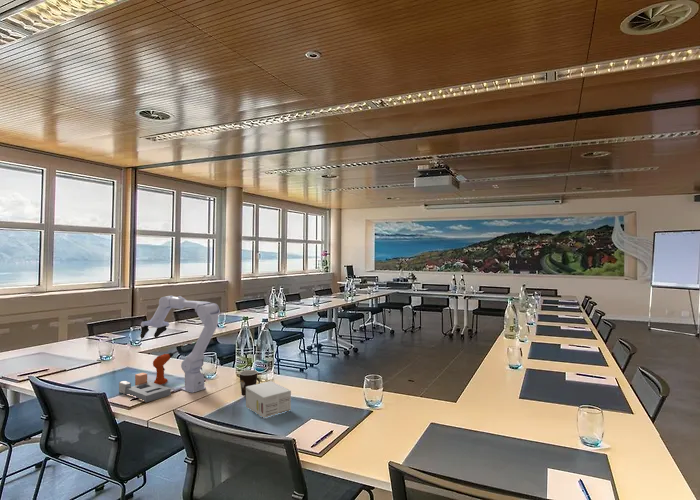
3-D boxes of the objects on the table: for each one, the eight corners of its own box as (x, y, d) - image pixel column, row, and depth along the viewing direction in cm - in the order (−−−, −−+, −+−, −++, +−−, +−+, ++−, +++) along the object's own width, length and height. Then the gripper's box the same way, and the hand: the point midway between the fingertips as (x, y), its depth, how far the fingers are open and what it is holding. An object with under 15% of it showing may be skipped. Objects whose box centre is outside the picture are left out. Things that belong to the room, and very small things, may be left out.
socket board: (170, 394, 196) (170, 388, 196) (146, 402, 186) (146, 395, 186) (150, 387, 206) (150, 381, 206) (125, 394, 196) (125, 388, 196)
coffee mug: (237, 392, 200) (237, 371, 200) (255, 389, 204) (255, 369, 204) (242, 399, 190) (242, 378, 190) (261, 396, 194) (261, 375, 194)
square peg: (147, 387, 206) (147, 373, 206) (139, 390, 203) (139, 375, 203) (143, 386, 208) (143, 372, 208) (135, 388, 205) (135, 374, 205)
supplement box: (245, 407, 180) (245, 386, 180) (271, 400, 189) (271, 380, 189) (263, 419, 167) (263, 396, 167) (291, 411, 176) (291, 389, 176)
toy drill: (183, 372, 227) (180, 346, 225) (159, 387, 209) (157, 359, 207) (175, 371, 228) (173, 345, 226) (151, 386, 210) (149, 358, 208)
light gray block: (130, 393, 198) (130, 382, 198) (125, 394, 196) (125, 384, 196) (124, 390, 202) (124, 380, 202) (119, 392, 199) (119, 382, 199)
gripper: (169, 311, 219) (158, 331, 222) (143, 310, 207) (131, 332, 210) (175, 319, 216) (163, 340, 218) (148, 319, 204) (137, 341, 206)
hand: (148, 337), depth 214 cm, fingers open, 7 cm apart
